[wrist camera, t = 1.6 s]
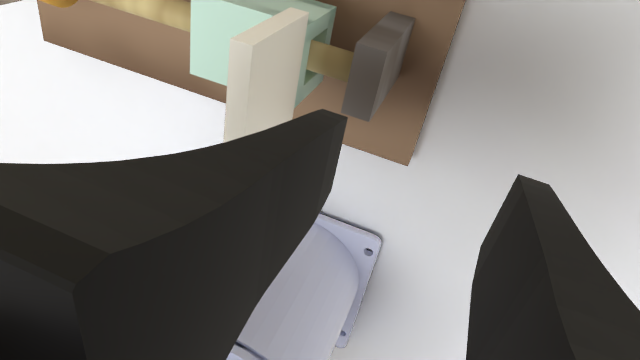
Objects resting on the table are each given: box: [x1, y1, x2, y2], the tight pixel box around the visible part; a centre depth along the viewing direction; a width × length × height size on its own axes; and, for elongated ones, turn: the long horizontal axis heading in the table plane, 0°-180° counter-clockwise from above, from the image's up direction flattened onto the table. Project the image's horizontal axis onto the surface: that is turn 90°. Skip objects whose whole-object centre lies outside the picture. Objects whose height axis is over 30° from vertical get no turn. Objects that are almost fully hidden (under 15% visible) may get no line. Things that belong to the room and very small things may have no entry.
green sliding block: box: [190, 0, 337, 142], centre depth 15 cm, size 4×4×6 cm
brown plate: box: [0, 0, 466, 166], centre depth 18 cm, size 10×20×6 cm, turn 80°
